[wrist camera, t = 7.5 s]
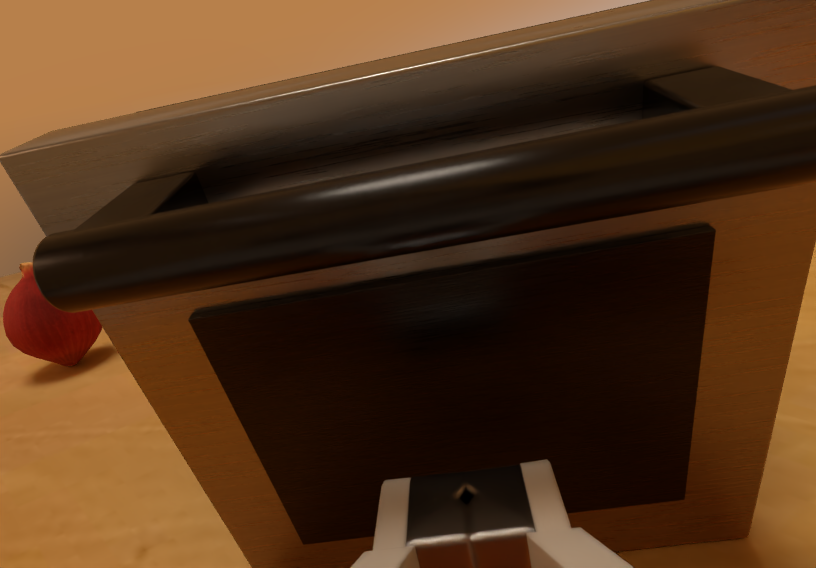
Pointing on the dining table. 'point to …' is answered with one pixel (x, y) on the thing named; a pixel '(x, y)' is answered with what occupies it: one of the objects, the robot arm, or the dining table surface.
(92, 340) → the onion
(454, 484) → the robot arm
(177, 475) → the dining table surface
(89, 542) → the dining table surface
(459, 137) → the dishwasher door
